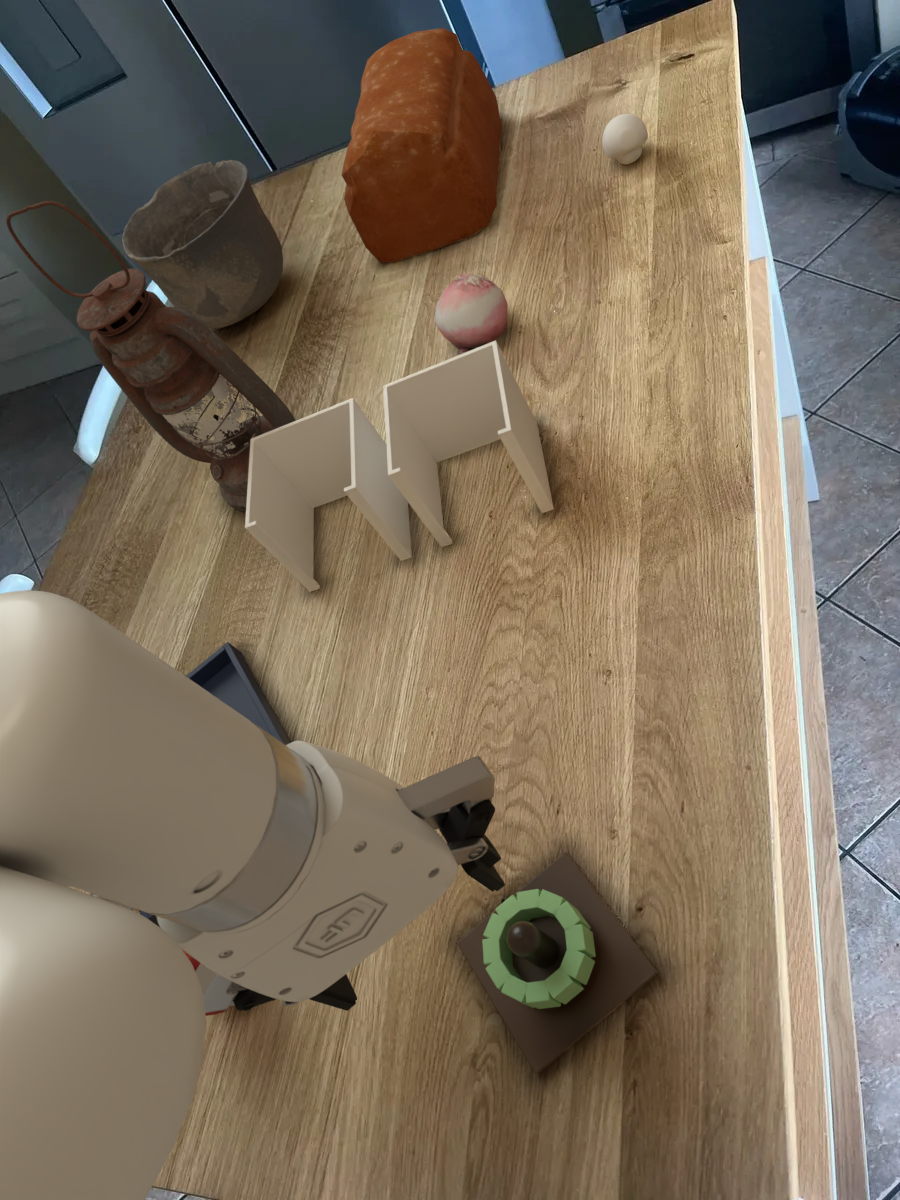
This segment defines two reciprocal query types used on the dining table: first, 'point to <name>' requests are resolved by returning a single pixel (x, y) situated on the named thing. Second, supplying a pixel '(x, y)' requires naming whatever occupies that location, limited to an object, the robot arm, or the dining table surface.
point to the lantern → (175, 371)
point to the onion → (471, 312)
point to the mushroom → (624, 138)
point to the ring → (574, 963)
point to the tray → (235, 695)
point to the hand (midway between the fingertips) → (414, 923)
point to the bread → (422, 147)
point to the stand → (542, 955)
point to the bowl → (208, 244)
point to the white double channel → (389, 456)
